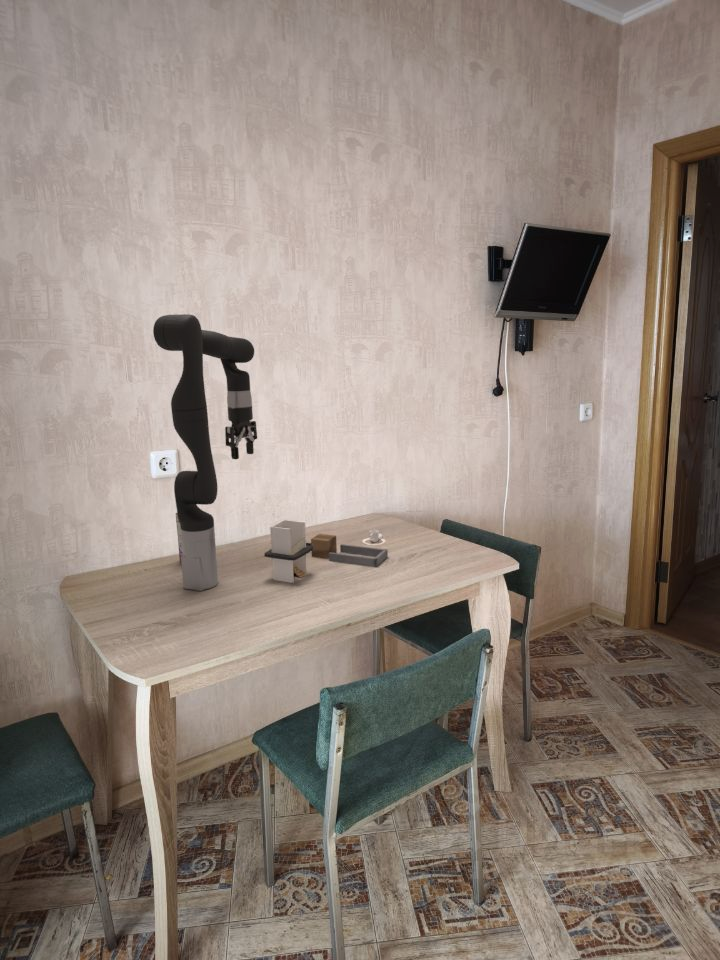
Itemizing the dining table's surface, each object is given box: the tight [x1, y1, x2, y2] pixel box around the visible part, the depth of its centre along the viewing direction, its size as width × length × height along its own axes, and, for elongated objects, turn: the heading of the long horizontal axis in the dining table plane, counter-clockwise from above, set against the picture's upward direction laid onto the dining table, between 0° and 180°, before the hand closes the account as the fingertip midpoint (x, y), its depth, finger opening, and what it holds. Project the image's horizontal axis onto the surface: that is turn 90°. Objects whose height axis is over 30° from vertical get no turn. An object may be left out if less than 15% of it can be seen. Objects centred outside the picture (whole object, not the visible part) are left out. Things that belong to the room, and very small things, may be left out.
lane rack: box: [328, 543, 389, 568], centre depth 208 cm, size 10×16×2 cm, turn 67°
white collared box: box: [264, 519, 313, 584], centre depth 193 cm, size 25×24×16 cm
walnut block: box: [306, 533, 338, 560], centre depth 215 cm, size 6×20×6 cm, turn 66°
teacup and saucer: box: [361, 529, 387, 546], centre depth 225 cm, size 9×8×4 cm
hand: (242, 456), depth 208 cm, fingers open, 8 cm apart
